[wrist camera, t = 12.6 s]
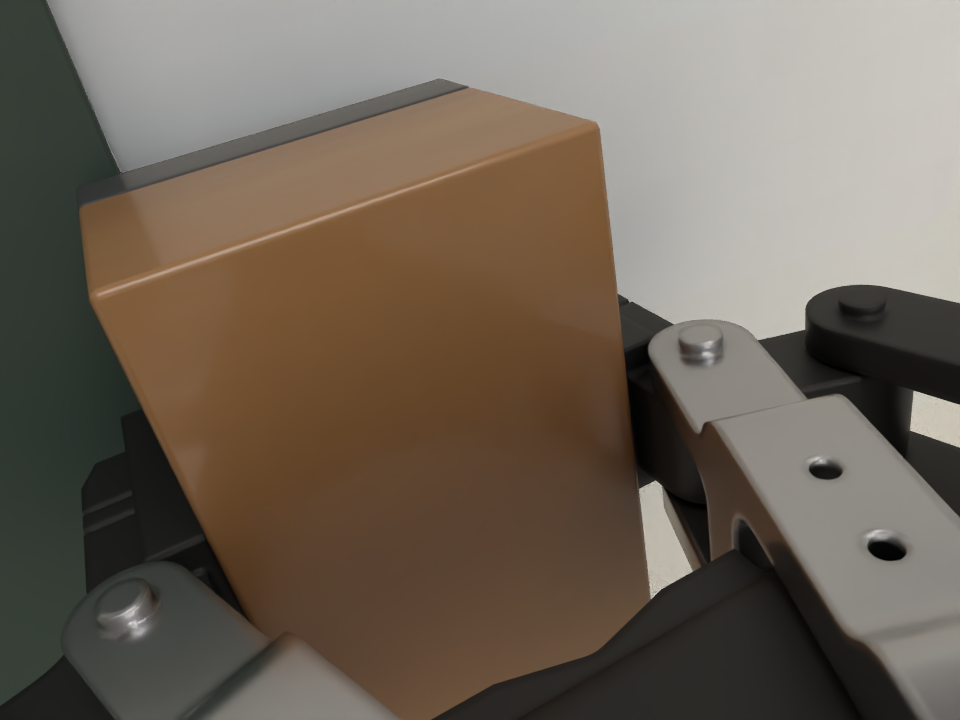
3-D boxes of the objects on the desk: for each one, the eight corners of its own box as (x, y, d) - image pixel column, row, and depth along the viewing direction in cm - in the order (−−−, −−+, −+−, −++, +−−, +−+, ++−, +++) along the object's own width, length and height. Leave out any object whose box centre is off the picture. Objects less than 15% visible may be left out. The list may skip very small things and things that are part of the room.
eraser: (72, 186, 10) (84, 294, 6) (442, 76, 11) (603, 119, 8) (279, 627, 14) (350, 829, 10) (529, 503, 15) (658, 648, 12)
